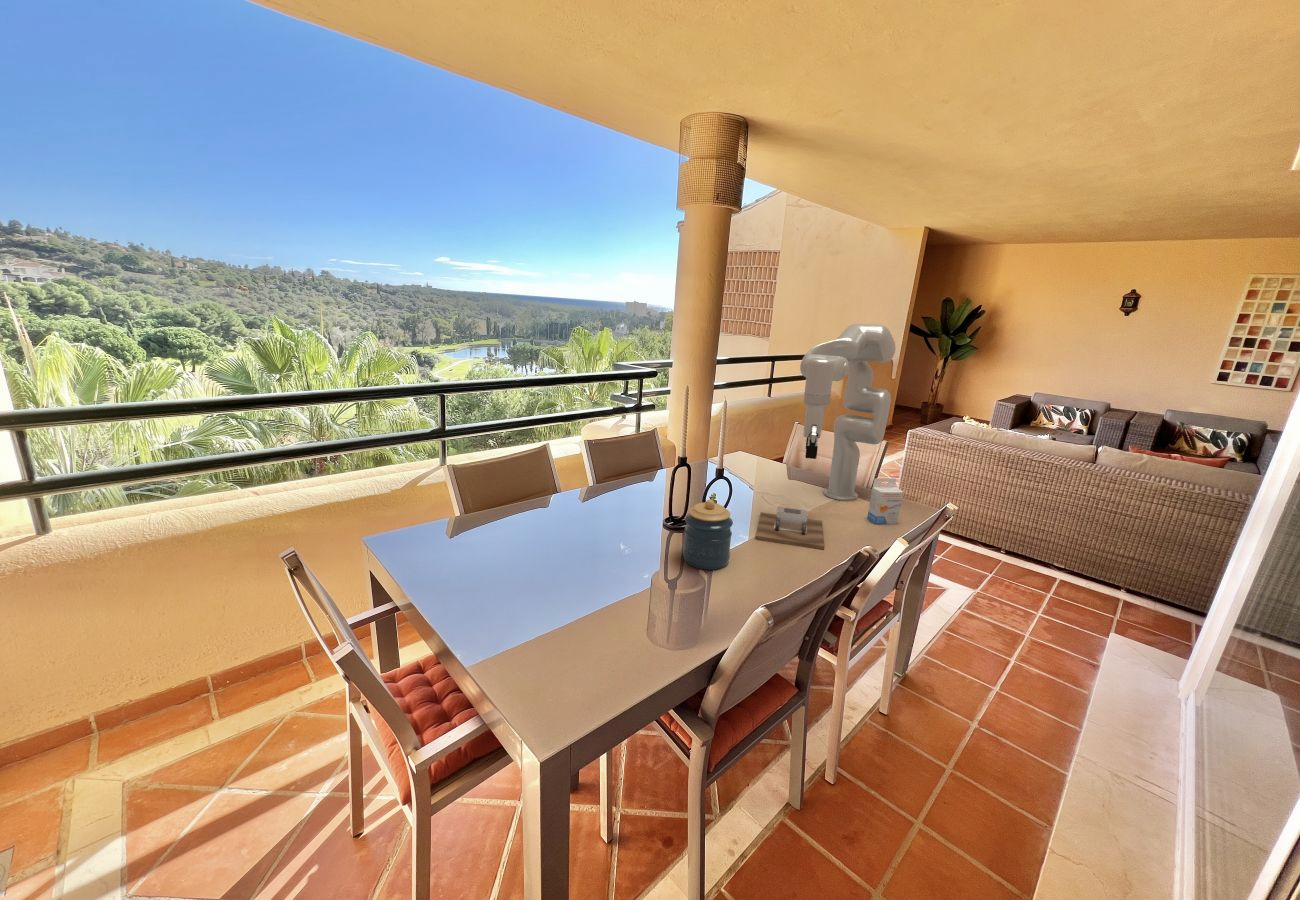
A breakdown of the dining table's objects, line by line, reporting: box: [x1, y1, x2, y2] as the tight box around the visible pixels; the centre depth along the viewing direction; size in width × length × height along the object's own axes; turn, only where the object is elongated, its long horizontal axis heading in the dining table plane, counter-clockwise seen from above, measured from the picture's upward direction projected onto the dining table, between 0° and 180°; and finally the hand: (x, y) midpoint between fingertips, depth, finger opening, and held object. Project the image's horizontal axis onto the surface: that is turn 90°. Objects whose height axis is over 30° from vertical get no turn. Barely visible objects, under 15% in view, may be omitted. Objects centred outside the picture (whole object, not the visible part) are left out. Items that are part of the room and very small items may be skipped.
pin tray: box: [755, 512, 826, 550], centre depth 159 cm, size 20×20×4 cm
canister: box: [682, 499, 734, 571], centre depth 137 cm, size 13×13×18 cm
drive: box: [776, 506, 808, 532], centre depth 158 cm, size 4×9×6 cm, turn 73°
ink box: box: [867, 477, 904, 525], centre depth 168 cm, size 8×5×15 cm, turn 98°
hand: (810, 453), depth 156 cm, fingers open, 9 cm apart
